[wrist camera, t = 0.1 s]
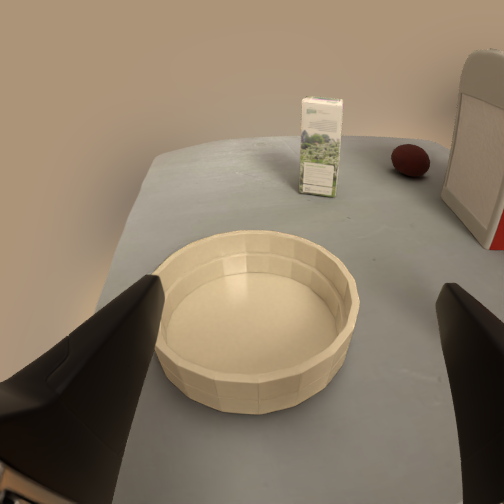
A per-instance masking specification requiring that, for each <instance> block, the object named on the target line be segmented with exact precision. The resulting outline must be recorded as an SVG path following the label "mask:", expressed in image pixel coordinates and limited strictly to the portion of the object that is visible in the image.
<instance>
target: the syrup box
mask: <svg viewBox="0 0 504 504" xmlns="http://www.w3.org/2000/svg"><path fill="white" fill-rule="evenodd" d="M342 117H343V100H342V99H332V98H321V97H305V98H304V99H303V100H302V106H301V151H300V181H299V193H304V194H312V195H320V196H327V197H335V195H336V189H337V181H338V169H339V156H340V143H341V129H342Z"/></svg>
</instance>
